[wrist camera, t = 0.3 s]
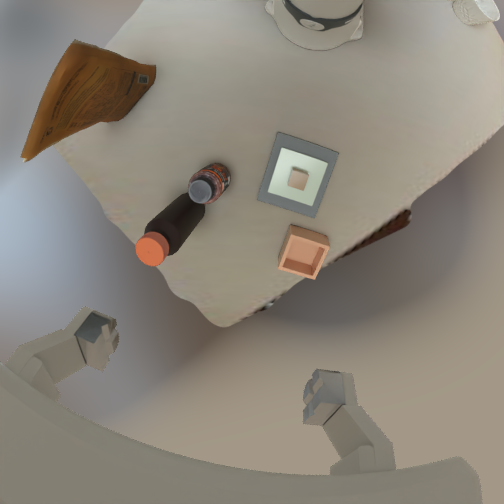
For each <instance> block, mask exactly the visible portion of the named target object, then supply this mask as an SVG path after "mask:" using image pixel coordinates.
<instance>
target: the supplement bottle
mask: <svg viewBox="0 0 504 504" xmlns="http://www.w3.org/2000/svg"><path fill="white" fill-rule="evenodd" d="M229 183H230V173H229V171H228V170H227V168H226V167H224V166H223V165H221V164H216V163H215V164H210V165H208V166H206V167H205V168H203V169H201V170H200V171H198V172H197V173H195V174H194V175H193V176H192V177H191V179H190V181H189V187H188V188H189V191H188V192H189V196H190V198H191V199H192V200H193V201H194V202H196V203H202V204H209V203H212V202H214V201H215V200H217V199H218V198H219V197H220V195H221V194H222V193H223V192H224V191H225V190H226V188H227V187H228V185H229Z"/></svg>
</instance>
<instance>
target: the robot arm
mask: <svg viewBox="0 0 504 504" xmlns="http://www.w3.org/2000/svg"><path fill="white" fill-rule="evenodd" d="M363 1H364V0H268V2H267V3H266V5H265V10H266V12H267V13H268V14H270V15H271V16H272V17H273V18H274V19H275V21H276V23H277V26H278V28H279V30H280V31H281V33H282V34H283V35H284V36H285V37H286V38H287V39H288V40H290V41H291V42H293V43H294V44H296V45H298V46H301V47H303V48H307V49H311V50H328V49H333V48H335V47H338V46H340V45H341V44H343V43H344V42H347V41H352V40H358V39H361V37H362V36H363ZM449 1H455V0H449ZM272 3H273V4H272ZM357 29H358V30H357ZM116 326H117V322H116V319H114V318H112V317H110V316H107V315H105V314H102V313H100V312H97V311H95V310H93V309H90V308H88V307H83V308H82V309H81V310H80V311H79V312H78V314H77V315H76V316H75V317H74V319H72V321H71V322H70V323H69V324H68V326H67V327H66V328H65V329H64V330H62V329H61V330H58V331H55V332H53V333H51V334H48V335H45V336H43V337H40V338H38V339H35V340H33V341H30V342H27V343H25V344H22V345H20V346H19V347H18V348H17V349H16V351H15V352H14V353H13V354H12V356H11V357H10V358H9V360H8V361H7V362H6V364H5V365H3V364H2V363H1V362H0V504H482V493H481V485H480V480H479V476H478V474H477V472H476V471H475V470H474V469H473V468H472V466H470V464H469V463H468V462H467V461H466V460H464V459H463V458H462V457H452V458H449V459H445V460H441V461H437V462H433V463H429V464H425V465H420V466H415V467H410V468H403V469H397V470H396V465H395V459H394V451H393V445H392V442H391V441H390V440H389V439H388V438H387V436H386V435H385V434H384V433H383V432H382V431H381V429H380V428H379V427H378V426H377V425H376V423H375V422H374V421H373V420H372V419H371V418H370V416H369V415H368V414H367V413H366V411H365V410H364V409H363V408H362V407H361V406H358V403H357V397H356V390H355V385H354V379H353V375H352V373H346V372H339V371H330V370H321V369H316V370H315V371H314V372H313V374H312V376H313V378H312V379H311V380H309V381H308V382H307V384H306V386H305V389H304V395H303V401H304V403H305V404H306V407H305V409H304V410H303V424H310V425H320V426H322V427H323V429H324V430H325V432H326V434H327V435H328V437H329V439H330V441H331V442H332V444H333V446H334V447H335V449H336V451H337V452H338V454H339V455H340V457H341V460H340V461H338V462H337V463H335V464H334V465H332V466H331V467H330V475H298V474H282V473H272V472H263V471H254V470H247V469H241V468H235V467H230V466H224V465H219V464H214V463H210V462H206V461H201V460H197V459H193V458H189V457H186V456H182V455H179V454H175V453H172V452H169V451H165V450H162V449H159V448H156V447H153V446H150V445H147V444H145V443H142V442H139V441H137V440H134V439H131V438H129V437H126V436H124V435H122V434H119V433H117V432H115V431H112V430H110V429H108V428H105V427H103V426H101V425H99V424H97V423H95V422H93V421H91V420H89V419H87V418H85V417H83V416H81V415H79V414H77V413H76V412H73V411H72V410H70V409H68V408H66V407H65V406H63V405H61V404H60V403H58V402H57V401H58V399H59V398H60V392H59V391H58V389H57V387H56V386H55V384H56V383H58V382H60V381H61V380H63V379H65V378H67V377H68V376H70V375H71V374H73V373H75V372H77V371H78V370H80V369H82V368H83V367H85V366H86V365H88V366H91V367H93V368H96V369H98V370H100V371H103V370H104V369H105V367H106V365H107V363H108V362H109V355H110V354H112V353H114V352H115V350H116V348H117V346H118V343H119V333H118V331H117V330H116V329H115V327H116Z"/></svg>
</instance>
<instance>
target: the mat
mask: <svg viewBox="0 0 504 504" xmlns="http://www.w3.org/2000/svg"><path fill="white" fill-rule="evenodd" d="M282 147H284V148H287V149H290V150H293V151H296V152H299V153H302V154H305V155H308V156H311V157H314V158H316V159H319V160H322V161H325V162H327V163H328V165H327V168H326V170H325V173H324V176H323V179H322V181H321V184H320V187H319V189H318V192H317V195H316V197H315V200H314V203H313V205H312V206H310V205H307V204H304V203H301V202H298V201H295V200H292V199H289V198H286V197H282V196H279V195H276V194H273V193H270V192H268V189H269V186H270V182H271V179H272V176H273V173H274V170H275V167H276V164H277V160H278V157H279V154H280V151H281V148H282ZM338 154H339V153H337V152H335V151H332V150H330V149H327V148H324V147H321V146H319V145H316V144H313V143H310V142H307V141H304V140H301V139H298V138H295V137H292V136H289V135H286V134H283V133H280V132H278V133H277V137H276V140H275V143H274V146H273V149H272V153H271V156H270V159H269V162H268V166H267V169H266V172H265V175H264V178H263V182H262V185H261V188H260V192H259V195H258V198H257V200H259V201H262V202H265V203H269V204H272V205H275V206H278V207H281V208H285V209H288V210H291V211H294V212H297V213H300V214H303V215H306V216H309V217H312V218H315V215H316V213H317V210H318V208H319V205H320V203H321V200H322V197H323V195H324V192H325V189H326V187H327V184H328V182H329V179H330V176H331V173H332V171H333V168H334V165H335V162H336V160H337V157H338Z"/></svg>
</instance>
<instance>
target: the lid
mask: <svg viewBox="0 0 504 504" xmlns="http://www.w3.org/2000/svg"><path fill="white" fill-rule="evenodd" d="M327 165H328V163H327V162H325V161H322V160H319V159H316V158H314V157H311V156H308V155H305V154H302V153H299V152H296V151H293V150H290V149H287V148H284V147H282V148H281V151H280V154H279V157H278V160H277V164H276V167H275V170H274V173H273V176H272V179H271V182H270V186H269V189H268V192H270V193H273V194H276V195H279V196H282V197H286V198H289V199H292V200H295V201H298V202H301V203H304V204H307V205H310V206H312V205H313V203H314V200H315V197H316V195H317V192H318V189H319V187H320V184H321V181H322V179H323V176H324V173H325V170H326V168H327Z"/></svg>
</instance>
